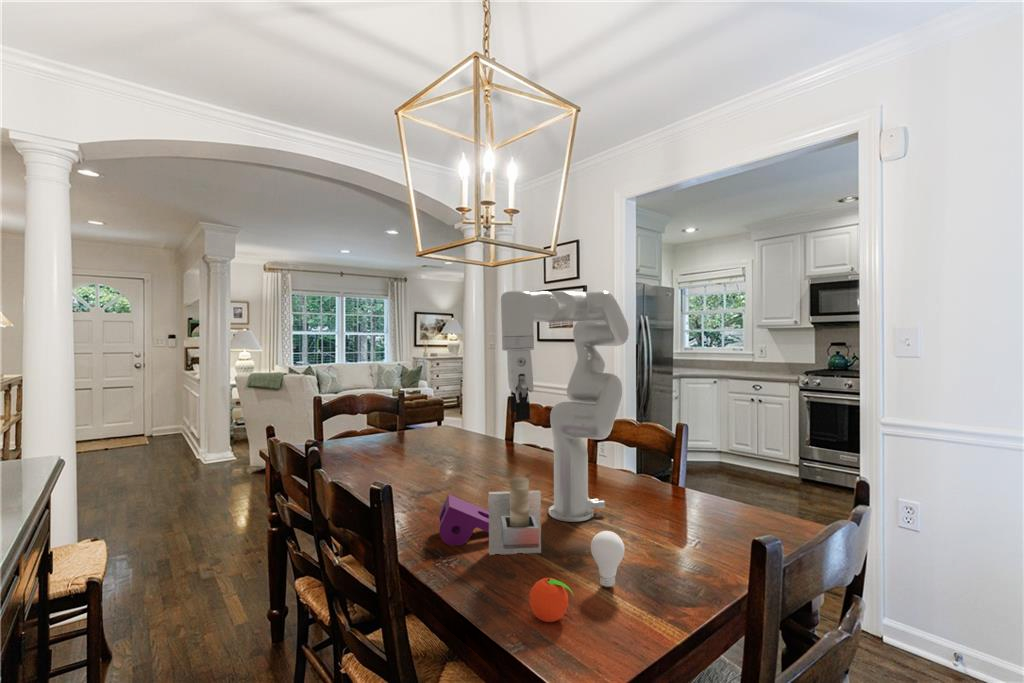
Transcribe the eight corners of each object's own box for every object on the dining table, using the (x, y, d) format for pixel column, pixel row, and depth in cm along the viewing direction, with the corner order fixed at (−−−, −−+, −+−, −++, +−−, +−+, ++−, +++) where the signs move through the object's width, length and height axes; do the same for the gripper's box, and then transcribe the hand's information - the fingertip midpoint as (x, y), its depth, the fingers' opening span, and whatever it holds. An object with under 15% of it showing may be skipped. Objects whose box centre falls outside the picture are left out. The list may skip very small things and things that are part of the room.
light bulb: (584, 586, 97) (583, 532, 97) (603, 575, 101) (603, 523, 101) (612, 599, 92) (612, 541, 92) (631, 586, 97) (631, 532, 97)
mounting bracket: (497, 549, 128) (434, 524, 125) (510, 520, 128) (448, 494, 126) (501, 566, 118) (434, 539, 116) (516, 534, 119) (449, 506, 116)
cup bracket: (540, 549, 114) (539, 490, 114) (550, 582, 99) (550, 513, 99) (488, 552, 113) (488, 492, 113) (491, 585, 98) (491, 515, 98)
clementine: (576, 611, 88) (576, 572, 88) (571, 634, 81) (571, 592, 81) (533, 605, 90) (533, 567, 90) (525, 627, 83) (525, 586, 83)
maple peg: (527, 532, 104) (527, 476, 104) (530, 540, 100) (529, 482, 100) (509, 533, 104) (509, 477, 103) (510, 541, 100) (510, 483, 99)
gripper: (540, 344, 106) (542, 422, 107) (528, 341, 123) (529, 408, 124) (506, 346, 105) (508, 424, 106) (498, 342, 123) (500, 409, 123)
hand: (520, 415), depth 115 cm, fingers open, 9 cm apart
